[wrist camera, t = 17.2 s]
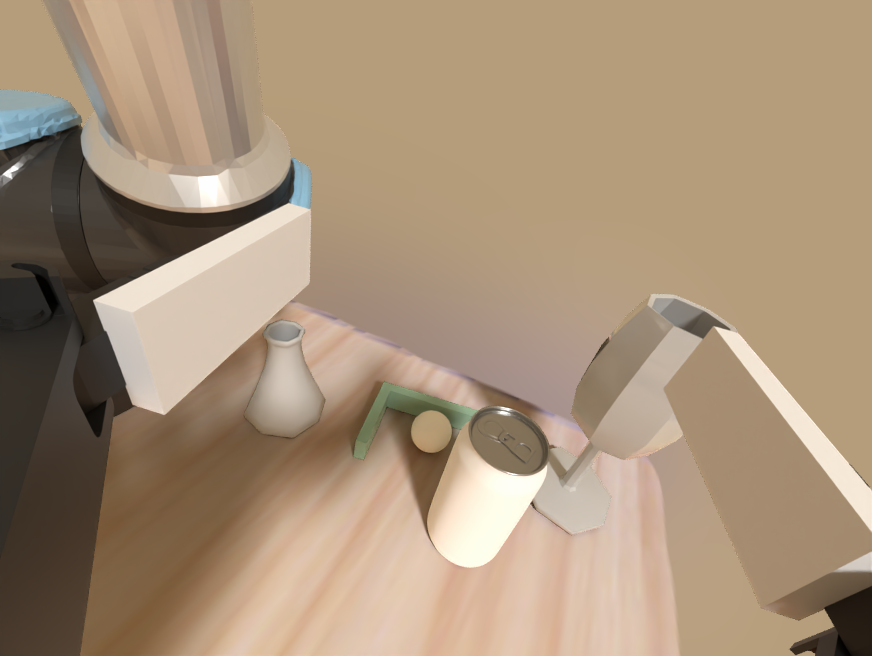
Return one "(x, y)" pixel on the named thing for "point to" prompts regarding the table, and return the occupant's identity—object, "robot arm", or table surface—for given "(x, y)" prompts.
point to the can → (487, 484)
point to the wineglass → (623, 405)
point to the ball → (431, 431)
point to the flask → (285, 385)
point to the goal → (408, 404)
